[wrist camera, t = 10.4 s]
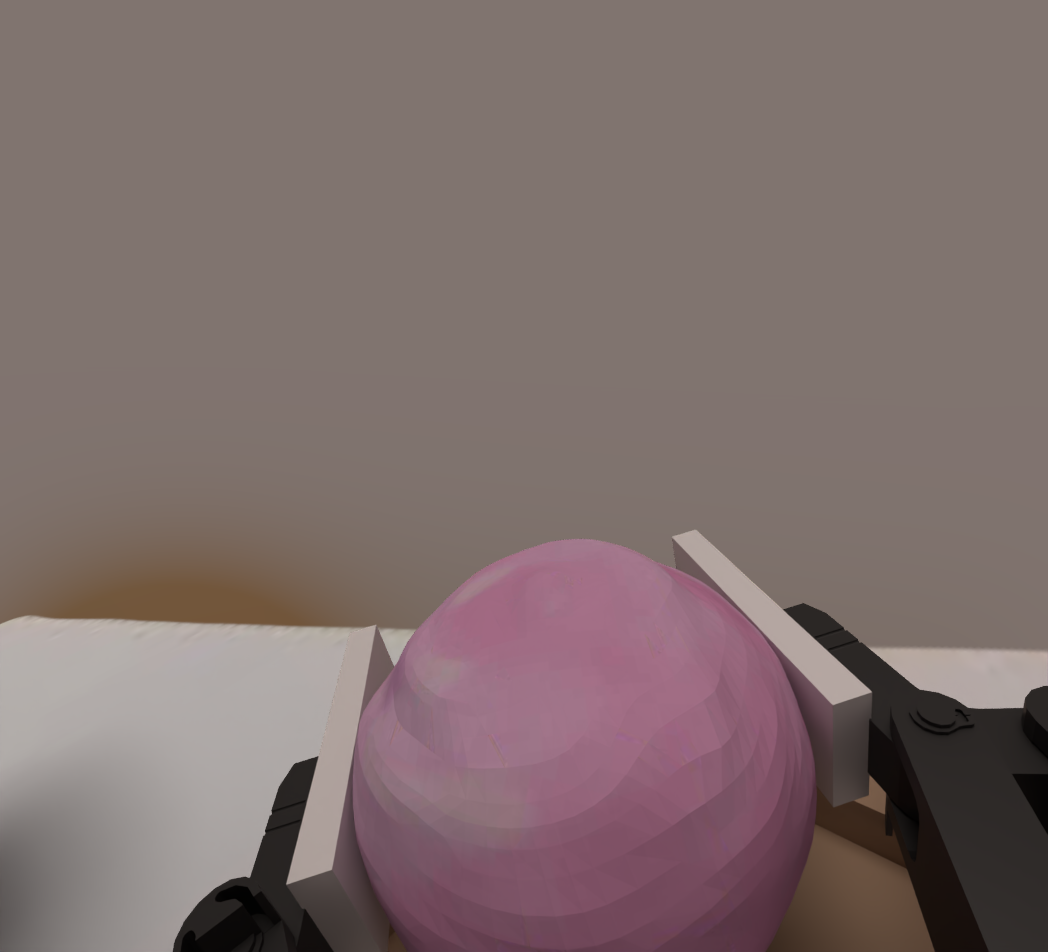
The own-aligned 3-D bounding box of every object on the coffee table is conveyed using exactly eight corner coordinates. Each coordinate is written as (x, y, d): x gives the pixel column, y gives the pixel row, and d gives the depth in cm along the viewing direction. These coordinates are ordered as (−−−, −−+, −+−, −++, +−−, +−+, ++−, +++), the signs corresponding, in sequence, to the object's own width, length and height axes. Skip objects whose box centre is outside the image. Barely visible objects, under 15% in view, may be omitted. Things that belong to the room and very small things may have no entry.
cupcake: (683, 718, 18) (640, 456, 14) (929, 1056, 10) (982, 655, 6) (437, 824, 16) (318, 563, 13) (489, 1321, 8) (207, 1008, 5)
